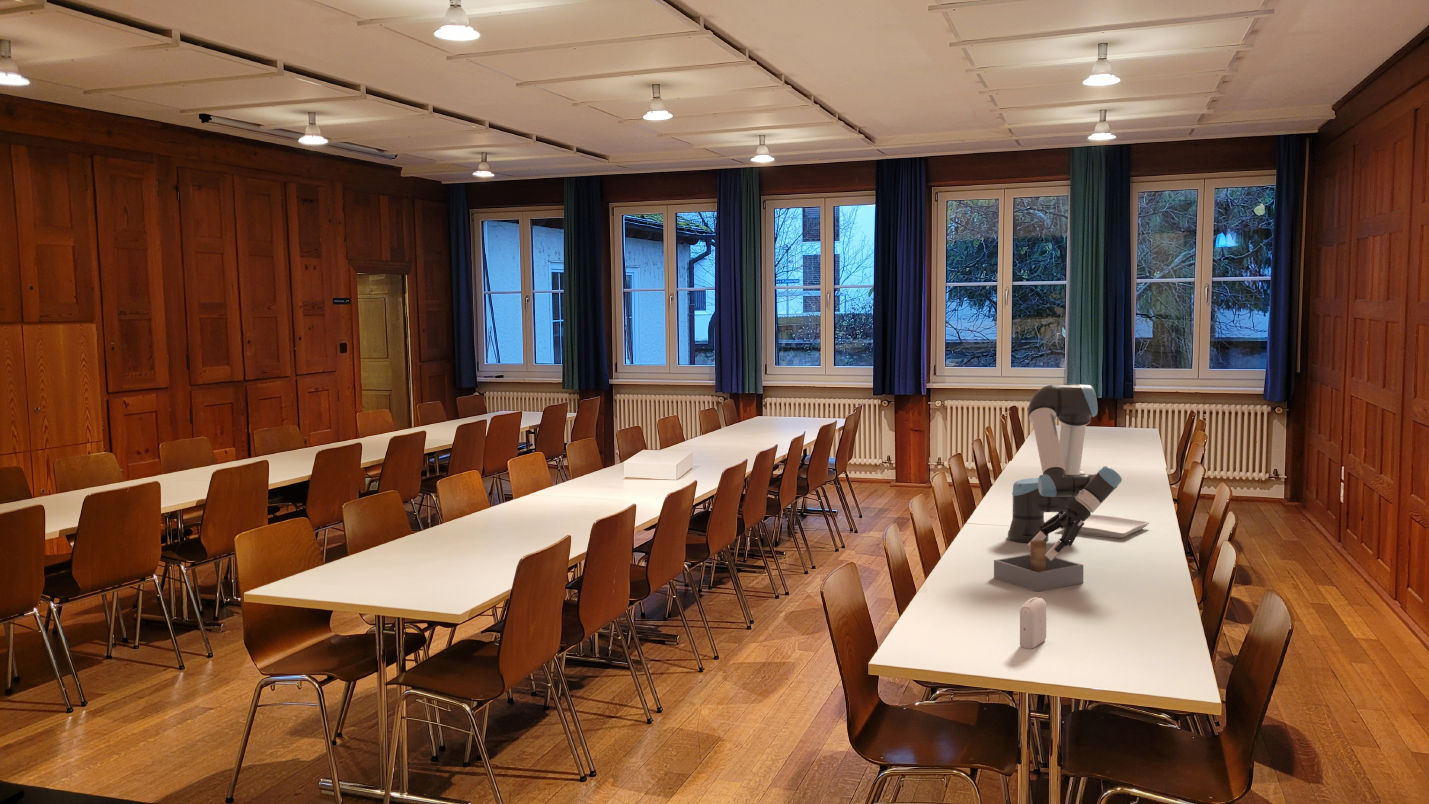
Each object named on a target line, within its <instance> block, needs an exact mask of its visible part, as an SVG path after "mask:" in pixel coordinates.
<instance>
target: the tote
mask: <svg viewBox="0 0 1429 804" xmlns="http://www.w3.org/2000/svg"><path fill="white" fill-rule="evenodd" d="M993 578H994V579H996V580H999V581H1002V582H1003V581H1004V582H1006V583H1009V584H1013V585H1014V586H1015V585H1016V586H1018V587H1021V588H1024V589H1028V590H1030V591H1034V592H1039V593H1040V592H1043V591H1048V590H1054V589H1059V588H1065V587H1068V586H1069V587H1070V586H1075V585H1081V584H1083V583H1084V564H1081V563H1079V562H1074V561H1070V560H1067V559H1063V558H1061V557H1057V556H1055V557H1054V558H1053V559H1052V561H1051V560H1049V559H1048V558H1047V557H1046V571H1042V572H1035V571H1032V570H1030V553H1028V554H1023V555H1022V554H1021V555H1017V556H1011V557H1005V558H999V559H995V560H993Z"/></svg>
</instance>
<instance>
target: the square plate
mask: <svg viewBox="0 0 1429 804" xmlns="http://www.w3.org/2000/svg"><path fill="white" fill-rule="evenodd" d="M1149 524H1150V522H1149V521H1144V520H1137V519H1130V518H1124V517H1118V516H1110V515H1109V516H1108V515H1102V514H1101V515H1099V514H1091V515H1090V516H1089V517H1088V518H1087V519H1086V520H1085V521H1084V525H1083V526H1082V527H1081V529H1080V531H1079V532H1078V534H1082V535H1089V536H1096V537H1103V538H1110V539H1120V538H1124V537H1127V536H1128V535H1131V534H1133V533H1135V532H1138V531H1140V530H1142V529H1144V528H1146V527H1147V526H1148V525H1149ZM1060 529H1061V530H1063V531H1064V528H1060Z"/></svg>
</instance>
